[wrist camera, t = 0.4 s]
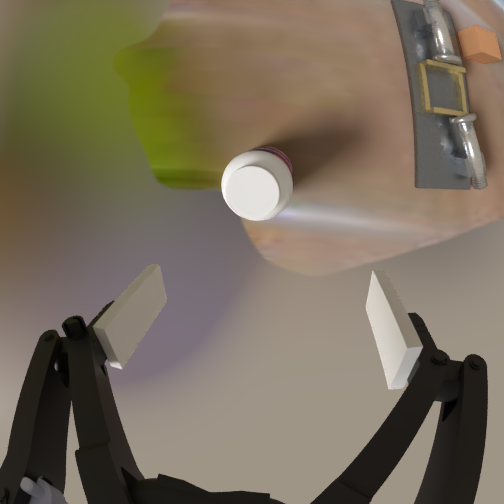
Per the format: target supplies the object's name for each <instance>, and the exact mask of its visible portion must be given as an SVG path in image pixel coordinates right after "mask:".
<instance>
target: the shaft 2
mask: <svg viewBox="0 0 504 504" xmlns="http://www.w3.org/2000/svg"><path fill="white" fill-rule="evenodd" d="M476 119H477V116H476V113H475V112H469V113H467V114H464V115H461V116H451V117H449V121H450V124H457V127H458V130H459V133H460V136H461V140H462V143H463V147H464V151H465V152H464V153H461V154H458V155H456V156H454V160H455V164H456V168H457V172H458V174H460V175H462V176H465V177H467V178H469V177H471V180H472V185H473V188H474V189H484V188H486V187H487V186H488V185H487V179H486V174H485V171H486V170H487V169H486V164H485V160H484V155H483V152H481V151H480V147H479V143H478V139H477V136H476V132H475V129H474V125H473V122H472V121H474V120H476Z"/></svg>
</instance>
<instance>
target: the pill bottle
mask: <svg viewBox="0 0 504 504" xmlns="http://www.w3.org/2000/svg"><path fill="white" fill-rule="evenodd" d="M292 191H293V167H292V164H291V162H290V160H289V159H288V157H287V156H286V155H285V154H284V153H283V152H281V151H280V150H278V149H276V148H273V147H268V146H263V147H257V148H254V149H252V150H249V151H247V152H245V153H242V154H240V155H238V156H237V157H235V158H234V159H233V160H232V161H231V162H230V163H229V164H228V166H227V167H226V169H225V171H224V174H223V177H222V193H223V196H224V199H225V201H226V203H227V204H228V206H229V207H230V208H231V209H232V210H233V211H234V212H235V213H236V214H237V215H239V216H241V217H243V218H246V219H249V220H255V221H260V220H267V219H270V218H272V217H275V216H276V215H278V214H279V213H281V212H282V211H283V210H284V209H285V207H286V206H287V205H288V203H289V201H290V199H291V195H292Z"/></svg>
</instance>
